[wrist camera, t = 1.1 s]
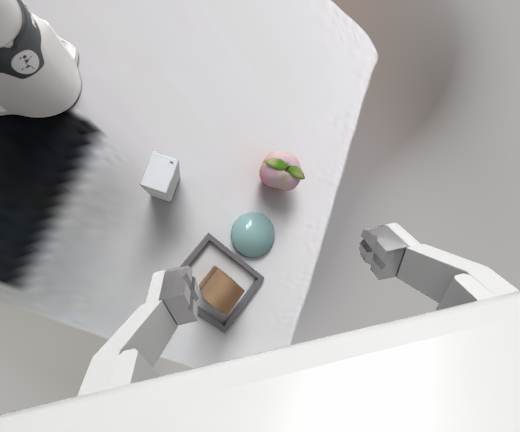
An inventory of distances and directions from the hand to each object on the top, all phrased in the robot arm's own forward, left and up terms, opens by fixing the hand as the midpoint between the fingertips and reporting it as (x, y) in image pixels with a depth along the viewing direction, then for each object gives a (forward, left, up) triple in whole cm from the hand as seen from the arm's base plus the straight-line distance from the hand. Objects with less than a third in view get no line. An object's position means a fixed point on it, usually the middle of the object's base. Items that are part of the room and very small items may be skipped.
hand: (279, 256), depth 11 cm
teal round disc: (+8, +7, -41) cm, 43 cm away
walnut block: (+8, -6, -41) cm, 43 cm away
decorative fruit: (+3, +21, -41) cm, 47 cm away
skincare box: (-13, +3, -42) cm, 44 cm away
